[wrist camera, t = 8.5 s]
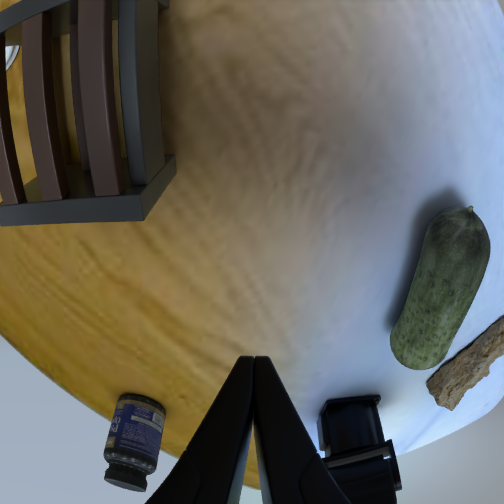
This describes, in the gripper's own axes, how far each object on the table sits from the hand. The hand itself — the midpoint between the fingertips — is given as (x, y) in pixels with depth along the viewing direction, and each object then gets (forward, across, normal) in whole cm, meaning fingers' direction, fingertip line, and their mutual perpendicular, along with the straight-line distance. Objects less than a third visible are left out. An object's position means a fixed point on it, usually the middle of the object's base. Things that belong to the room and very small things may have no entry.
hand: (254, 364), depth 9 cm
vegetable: (+10, -16, +5) cm, 19 cm away
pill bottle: (+12, +14, +26) cm, 31 cm away
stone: (+8, -26, +18) cm, 33 cm away
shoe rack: (+11, +9, -8) cm, 16 cm away
